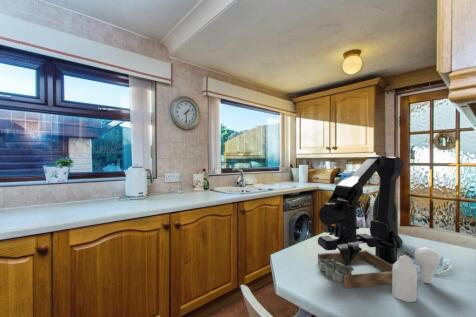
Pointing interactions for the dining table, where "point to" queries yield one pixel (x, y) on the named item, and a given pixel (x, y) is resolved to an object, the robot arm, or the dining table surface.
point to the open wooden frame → (367, 278)
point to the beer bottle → (375, 210)
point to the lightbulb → (427, 262)
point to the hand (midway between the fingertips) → (347, 266)
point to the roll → (404, 279)
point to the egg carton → (330, 269)
